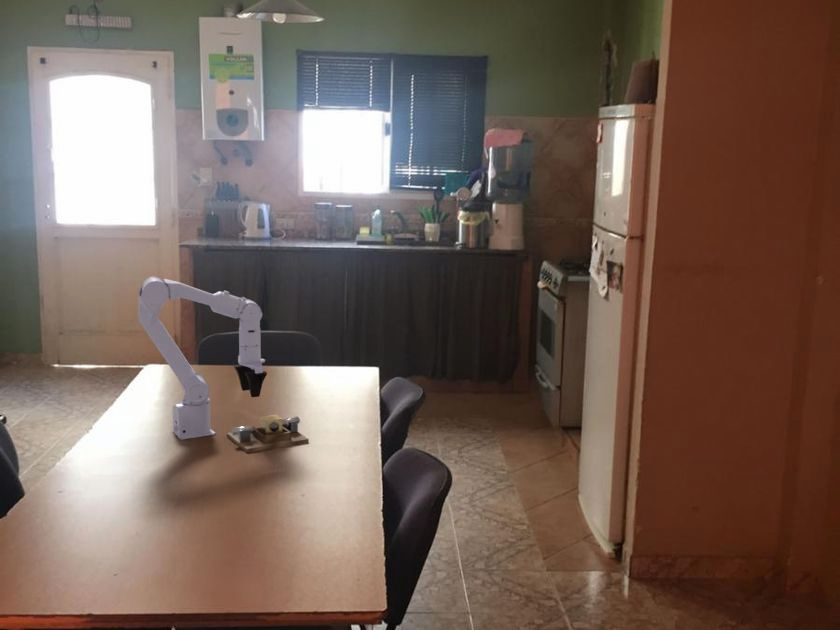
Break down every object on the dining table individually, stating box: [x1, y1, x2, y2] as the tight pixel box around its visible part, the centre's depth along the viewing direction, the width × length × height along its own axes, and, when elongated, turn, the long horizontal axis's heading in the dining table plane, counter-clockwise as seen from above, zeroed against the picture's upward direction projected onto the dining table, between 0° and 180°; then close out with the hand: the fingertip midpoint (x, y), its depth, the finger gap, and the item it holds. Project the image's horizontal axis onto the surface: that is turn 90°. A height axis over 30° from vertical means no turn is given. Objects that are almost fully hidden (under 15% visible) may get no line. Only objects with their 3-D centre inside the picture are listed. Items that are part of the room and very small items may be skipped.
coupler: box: [259, 413, 283, 436], centre depth 229 cm, size 5×4×6 cm
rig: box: [226, 426, 309, 454], centre depth 230 cm, size 17×15×3 cm
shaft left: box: [231, 425, 256, 443], centre depth 226 cm, size 6×4×4 cm, turn 110°
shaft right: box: [282, 416, 301, 434], centre depth 234 cm, size 5×4×4 cm
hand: (250, 393), depth 239 cm, fingers open, 7 cm apart
